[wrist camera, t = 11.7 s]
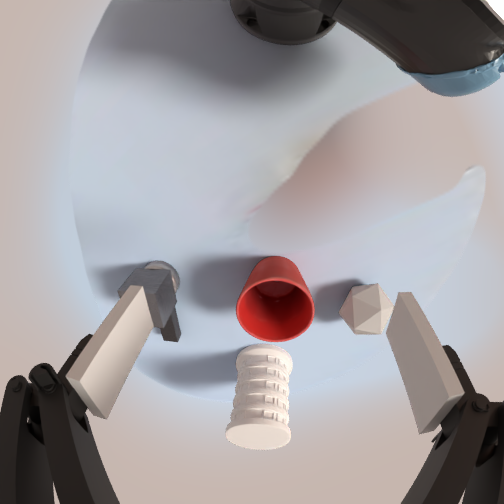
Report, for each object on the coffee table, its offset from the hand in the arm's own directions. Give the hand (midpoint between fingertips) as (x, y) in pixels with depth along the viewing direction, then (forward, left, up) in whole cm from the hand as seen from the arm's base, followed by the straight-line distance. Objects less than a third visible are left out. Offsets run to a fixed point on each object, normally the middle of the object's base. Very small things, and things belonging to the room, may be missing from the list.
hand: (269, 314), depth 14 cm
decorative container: (+36, -2, -29) cm, 46 cm away
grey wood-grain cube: (+16, -20, -26) cm, 36 cm away
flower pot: (+15, 0, -29) cm, 32 cm away
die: (+19, +15, -29) cm, 38 cm away
